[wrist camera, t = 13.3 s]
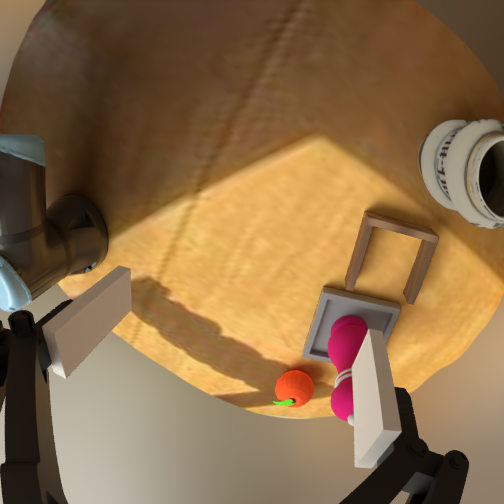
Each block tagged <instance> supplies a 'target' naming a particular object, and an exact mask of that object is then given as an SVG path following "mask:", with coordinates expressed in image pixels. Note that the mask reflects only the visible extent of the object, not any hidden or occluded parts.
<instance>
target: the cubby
mask: <svg viewBox="0 0 504 504" xmlns="http://www.w3.org/2000/svg"><path fill="white" fill-rule="evenodd" d="M373 226H375V227H378V228H382V229H386V230H390V231H394V232H397V233H401V234H405V235H408V236H412V237H416V238H419V239H422V242H421V245H420V248H419V251H418V254H417V257H416V260H415V262H414V265H413V268H412V271H411V273H410V276H409V279H408V281H407V284H406V287H405V289H404V292H403V293H404V296H405V298H406V300H407V303H408V304H412V305H414V302H415V300H416V298H417V295H418V293H419V290H420V288H421V285H422V283H423V280H424V278H425V275H426V272H427V270H428V267H429V265H430V262H431V259H432V256H433V253H434V251H435V248H436V245H437V242H438V239H439V236H438V235H437V234H436V233H435V232H434V231H433V230H432V229H428V228H425V227H422V226H418V225H415V224H411V223H408V222H404V221H400V220H397V219H393V218H389V217H386V216H382V215H378V214H375V213H371V212H367V211H365V212H364V215H363V219H362V223H361V226H360V230H359V234H358V237H357V241H356V244H355V248H354V251H353V254H352V258H351V261H350V264H349V268H348V271H347V274H346V277H345V284H346V290H350V291H353V289H354V286H355V283H356V280H357V277H358V274H359V271H360V268H361V265H362V261H363V258H364V255H365V252H366V248H367V245H368V242H369V238H370V235H371V232H372V228H373Z"/></svg>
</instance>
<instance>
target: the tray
mask: <svg viewBox="0 0 504 504" xmlns="http://www.w3.org/2000/svg"><path fill="white" fill-rule="evenodd" d="M400 311H401V308H400V305H399V303H395V302H391V301H386V300H382V299H377V298H373V297H368V296H364V295H360V294H355V293H351V292H346V291H342V290H338V289H333V288H329V287H325V286H323V288H322V291H321V294H320V298H319V301H318V304H317V308H316V311H315V314H314V317H313V320H312V323H311V327H310V330H309V333H308V336H307V339H306V342H305V345H304V348H303V353H302V357H304V358H309V359H314V360H318V361H323V362H328V363H332V361H331V359H330V357H329V355H328V341H329V338H330V337H331V327H332V325H333V324H334V322H335V321H336V320H338V319H339V318H341V317H343V316H348V315H355V316H358V317H360V318H362V319H363V320H364V321H365V322H366V324H367V326H368V329H374V330H379V331H382V332H383V336H384V341H385V345H386V342H387V340H388V338H389V336H390V334H391V332H392V329H393V327H394V325H395V323H396V320H397V318H398V316H399V314H400Z"/></svg>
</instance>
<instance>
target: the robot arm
mask: <svg viewBox="0 0 504 504" xmlns="http://www.w3.org/2000/svg"><path fill="white" fill-rule="evenodd" d="M45 167H46V163H45V144H44V141H43V140H42V138H41V137H39V136H36V135H19V134H0V308H1V309H3V310H5V311H8V312H14V313H12V314H11V315H10V316H9V318H8V322H9V325H10V329H11V330H10V329H5V328H3V324H2V321H1V320H0V412H1V408H2V405H3V402H4V399H5V396H6V399H5V455H6V456H5V457H6V460H5V463H3V464H1V466H0V477H1V488H2V497H3V504H68V502H67V500H66V498H65V495H64V492H63V489H62V484H61V479H60V474H59V468H58V462H57V456H56V450H55V442H54V435H53V426H52V416H51V405H50V390H49V372H48V369H47V368H48V367H49V366H50V365H51V364H52V366H53V369H54V372H55V373H56V374H58V375H60V376H62V377H64V378H67V377H68V376H69V375H70V374H71V373H72V372H73V371H74V370H75V369H76V368H77V367H78V365H79V364H80V363H81V362H82V361H83V360H84V359H85V358H86V357H87V356H88V355H89V354H90V353H91V352H92V350H93V349H94V348H95V347H96V346H97V345H98V344H99V343H100V342H101V341H102V340H103V339H104V338H105V337H106V336H107V335H108V333H109V332H110V331H111V330H112V329H113V328H114V327H115V326H116V325H117V324H118V323H119V322H120V321H121V320H122V319H123V318H124V317H125V316H126V315H127V314H128V313H129V312H130V311H131V269H129V268H126V267H123V266H118V267H117V268H115V269H114V270H113V271H111V272H110V273H109V274H108V275H106V276H105V277H104V278H102V279H101V280H100V281H98V282H97V283H96V284H95V285H93V286H92V287H91V288H89V289H88V290H87V291H86V292H84V293H83V294H82V295H80V296H79V297H78V298H77V299H75V300H72V299H70V300H67V301H64V302H62V303H61V304H60V305H58V306H57V307H55V309H53V310H52V311H50V313H48V314H47V315H46V316H44V317H43V318H42V319H40V320H39V321H38V322H37V323H36V324H35V322H34V318H33V314H32V313H31V312H29V311H27V310H20V311H17V310H19V309H20V308H22V307H24V306H25V305H28V304H30V303H31V302H32V301H33V300H34V299H36V298H37V297H38V296H40V295H41V294H42V293H44V292H45V291H47V290H48V289H49V288H51V287H52V286H53V285H55V284H56V283H58V282H59V281H60V280H62V279H63V278H65V277H67V276H72V275H78V274H84V273H88V272H90V271H92V270H93V269H95V268H96V267H97V266H99V265H100V264H101V263H102V262H103V260H104V258H105V256H106V253H107V248H108V236H107V230H106V227H105V224H104V221H103V219H102V217H101V215H100V213H99V212H98V210H97V209H96V207H95V206H94V205H93V204H92V203H91V202H90V201H88V200H87V199H86V198H84V197H82V196H79V195H68V196H65V197H62V198H60V199H58V200H56V201H55V202H54V203H52V205H51V206H50V207H49V208H48V209H47V210H46V188H45ZM15 311H16V312H15ZM352 383H353V404H354V434H355V436H354V439H355V467H362V468H372V467H373V466H374V464H375V463H376V462H377V465H378V467H377V469H376V470H375V471H374V472H373V473H372V474H371V475H370V476H368V478H367V479H365V481H363V482H362V483H361V484H360V485H359V486H358V487H357V488H356V489H355V490H354V491H353V492H351V493H350V494H349V495H348V496H347V497H346V498H345V499H344V500H343V501H341V502H340V503H339V504H390V502H391V501H392V500H393V499H394V498H395V497H396V495H398V493H399V492H400V491H401V490H402V491H405V492H408V493H410V495H409V497H408V499H407V501H406V503H405V504H459V503H460V500H461V496H462V493H463V489H464V485H465V481H466V477H467V473H468V468H469V461H468V459H467V457H466V456H465V455H464V454H463V453H462V452H460V451H457V450H452V451H449V452H448V453H447V454H446V455H445V456H443V455H440V454H437V453H434V452H431V451H429V449H428V446H427V444H426V443H425V442H424V441H423V440H422V439H420V438H419V436H418V431H417V426H416V420H415V415H414V414H413V413H414V411H413V407H412V401H411V397H410V395H409V394H408V392H407V391H406V389H405V388H399V387H394V383H393V378H392V373H391V368H390V364H389V359H388V354H387V350H386V345H385V341H384V336H383V332H382V331H379V330H374V329H368V332H367V334H366V337H365V339H364V341H363V343H362V346H361V348H360V350H359V353H358V355H357V357H356V359H355V361H354V364H353V366H352Z"/></svg>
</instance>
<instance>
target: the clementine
mask: <svg viewBox="0 0 504 504" xmlns="http://www.w3.org/2000/svg"><path fill="white" fill-rule="evenodd" d="M275 391H276V395H277V397H278V399H279V400H280V401H281V402H274V401H273V399H272V401H273V402H274V403H275V404H277V405H281V406H289V407H300V406H302V405H304V404H306V403H307V402H308V401H309V400H310V399H311V397H312V395H313V392H314V384H313V381H312V379H311V378H310V376H309V375H308V374H306V373H304V372H302V371H299V370H292V371H288V372H286V373H284V374H283V375H282V376H281V377H280V378H279V379H278V381H277V383H276V388H275Z"/></svg>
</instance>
